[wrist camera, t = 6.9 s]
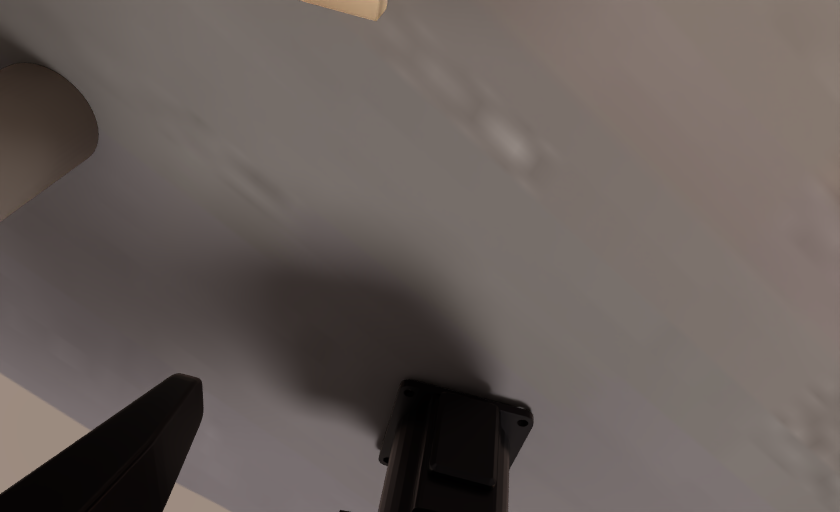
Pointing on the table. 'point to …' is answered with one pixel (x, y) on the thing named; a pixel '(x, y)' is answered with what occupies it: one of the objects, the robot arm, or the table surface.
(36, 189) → the pepper shaker
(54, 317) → the table surface
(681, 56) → the table surface
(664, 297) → the table surface
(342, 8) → the maple picture frame
